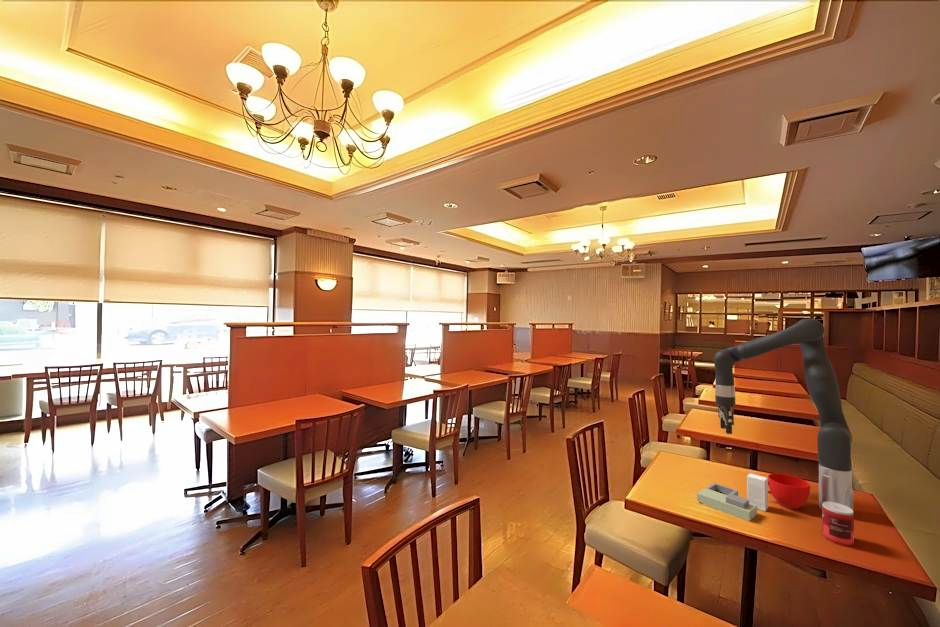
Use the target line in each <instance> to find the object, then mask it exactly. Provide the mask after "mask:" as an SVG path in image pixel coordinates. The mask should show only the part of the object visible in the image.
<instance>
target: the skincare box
mask: <svg viewBox="0 0 940 627" xmlns="http://www.w3.org/2000/svg"><path fill="white" fill-rule="evenodd" d="M768 491H769V485H768V477H765V476H761V475H758V474H755V473H754V474H753V473H748V474H747V476H746V497H747V498H746V499H748V500H749V503H751V504H754V505H757V510H759V511H762V512H766V511H767V510H769V493H768Z"/></svg>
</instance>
